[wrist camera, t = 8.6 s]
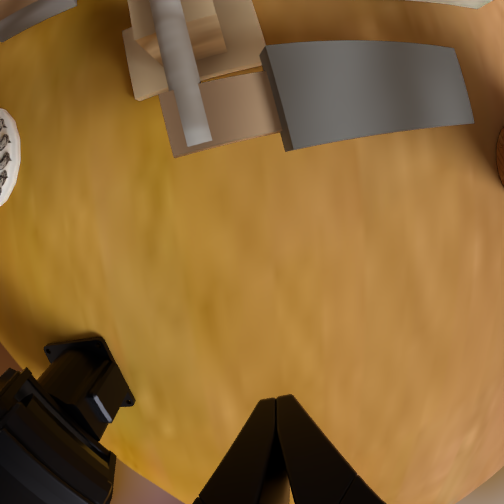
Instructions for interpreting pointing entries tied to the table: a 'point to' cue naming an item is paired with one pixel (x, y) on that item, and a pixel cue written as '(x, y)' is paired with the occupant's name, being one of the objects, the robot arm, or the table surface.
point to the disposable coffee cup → (500, 155)
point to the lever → (290, 86)
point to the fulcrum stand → (194, 42)
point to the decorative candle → (8, 155)
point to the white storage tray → (460, 2)
